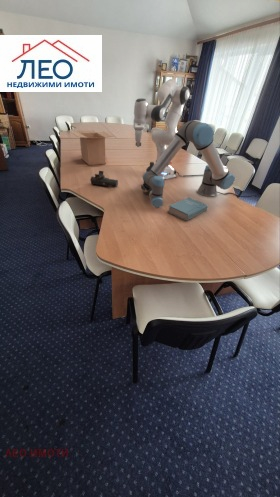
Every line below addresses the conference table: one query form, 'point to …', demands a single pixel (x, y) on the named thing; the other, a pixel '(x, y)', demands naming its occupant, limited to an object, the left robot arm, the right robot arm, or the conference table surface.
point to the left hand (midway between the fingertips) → (138, 145)
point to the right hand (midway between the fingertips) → (149, 182)
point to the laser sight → (103, 180)
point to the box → (92, 146)
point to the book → (187, 208)
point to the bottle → (148, 171)
